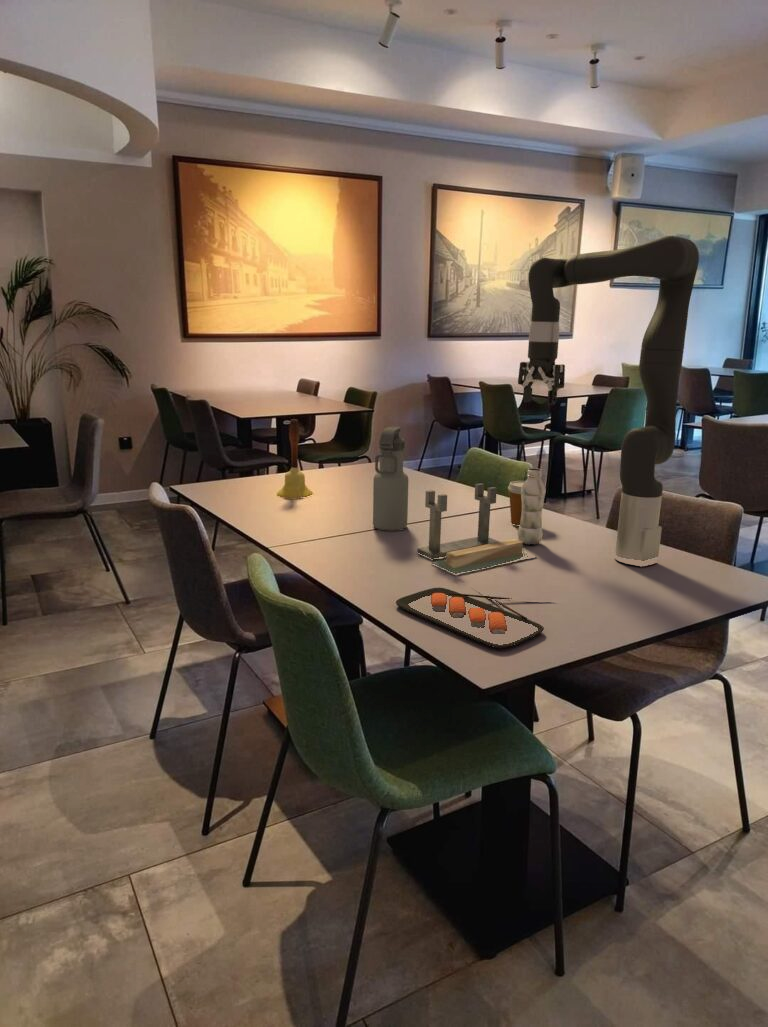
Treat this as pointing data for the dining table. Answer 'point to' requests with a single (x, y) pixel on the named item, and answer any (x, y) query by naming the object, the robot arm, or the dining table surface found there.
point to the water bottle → (390, 483)
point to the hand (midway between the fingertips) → (539, 403)
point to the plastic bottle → (532, 508)
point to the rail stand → (441, 549)
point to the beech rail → (483, 553)
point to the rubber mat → (478, 564)
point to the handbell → (294, 469)
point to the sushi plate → (475, 614)
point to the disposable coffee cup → (515, 501)
